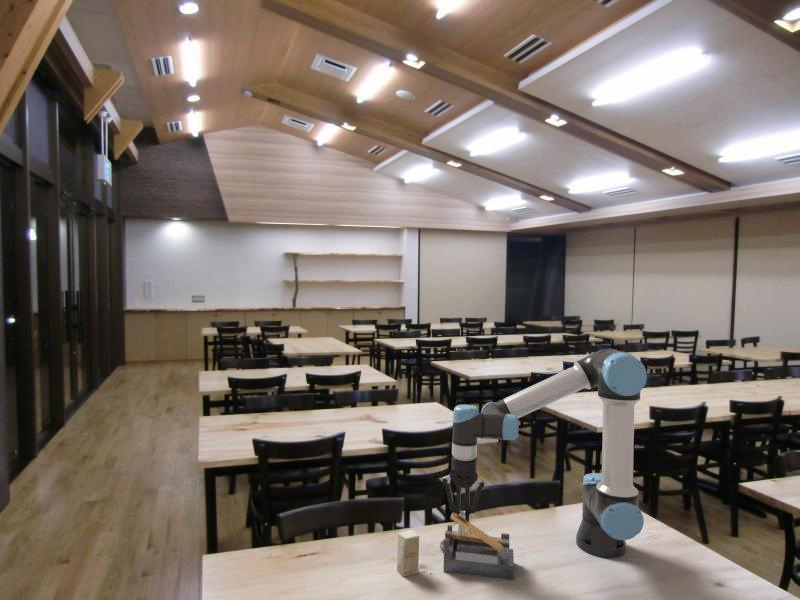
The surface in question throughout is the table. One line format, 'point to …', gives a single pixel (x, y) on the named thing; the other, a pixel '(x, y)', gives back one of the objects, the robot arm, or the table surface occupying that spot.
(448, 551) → the lug bar
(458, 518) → the strap near
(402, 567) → the box
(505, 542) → the gray cradle frame
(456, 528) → the ceramic mug
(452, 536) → the orange long bar
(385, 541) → the table surface
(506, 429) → the robot arm
